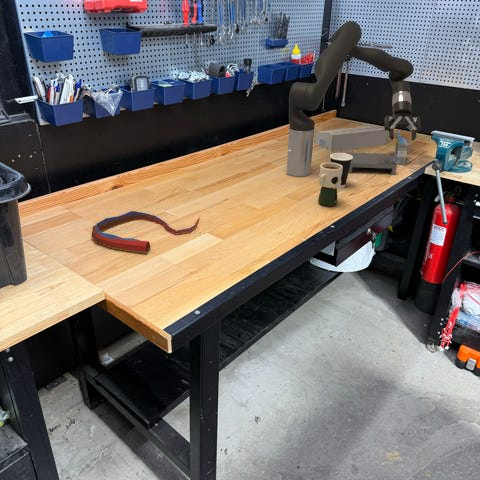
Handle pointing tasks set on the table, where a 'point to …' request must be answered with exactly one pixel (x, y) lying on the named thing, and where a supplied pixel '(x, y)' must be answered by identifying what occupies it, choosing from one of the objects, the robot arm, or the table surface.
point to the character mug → (329, 182)
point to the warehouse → (351, 138)
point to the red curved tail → (129, 243)
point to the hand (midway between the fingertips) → (402, 139)
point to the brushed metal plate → (373, 161)
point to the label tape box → (400, 150)
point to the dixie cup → (345, 162)
